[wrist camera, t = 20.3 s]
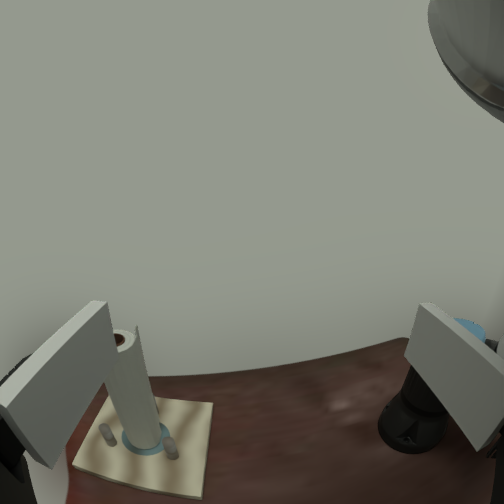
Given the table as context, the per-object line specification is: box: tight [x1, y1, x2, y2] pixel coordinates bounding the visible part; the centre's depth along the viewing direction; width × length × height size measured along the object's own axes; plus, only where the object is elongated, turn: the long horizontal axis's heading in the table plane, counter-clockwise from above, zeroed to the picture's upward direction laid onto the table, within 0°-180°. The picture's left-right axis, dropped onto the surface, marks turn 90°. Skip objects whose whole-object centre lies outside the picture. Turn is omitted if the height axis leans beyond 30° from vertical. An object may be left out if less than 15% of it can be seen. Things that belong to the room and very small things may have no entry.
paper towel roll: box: [104, 325, 162, 450], centre depth 33 cm, size 7×6×21 cm
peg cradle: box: [72, 394, 213, 500], centre depth 36 cm, size 22×22×6 cm
